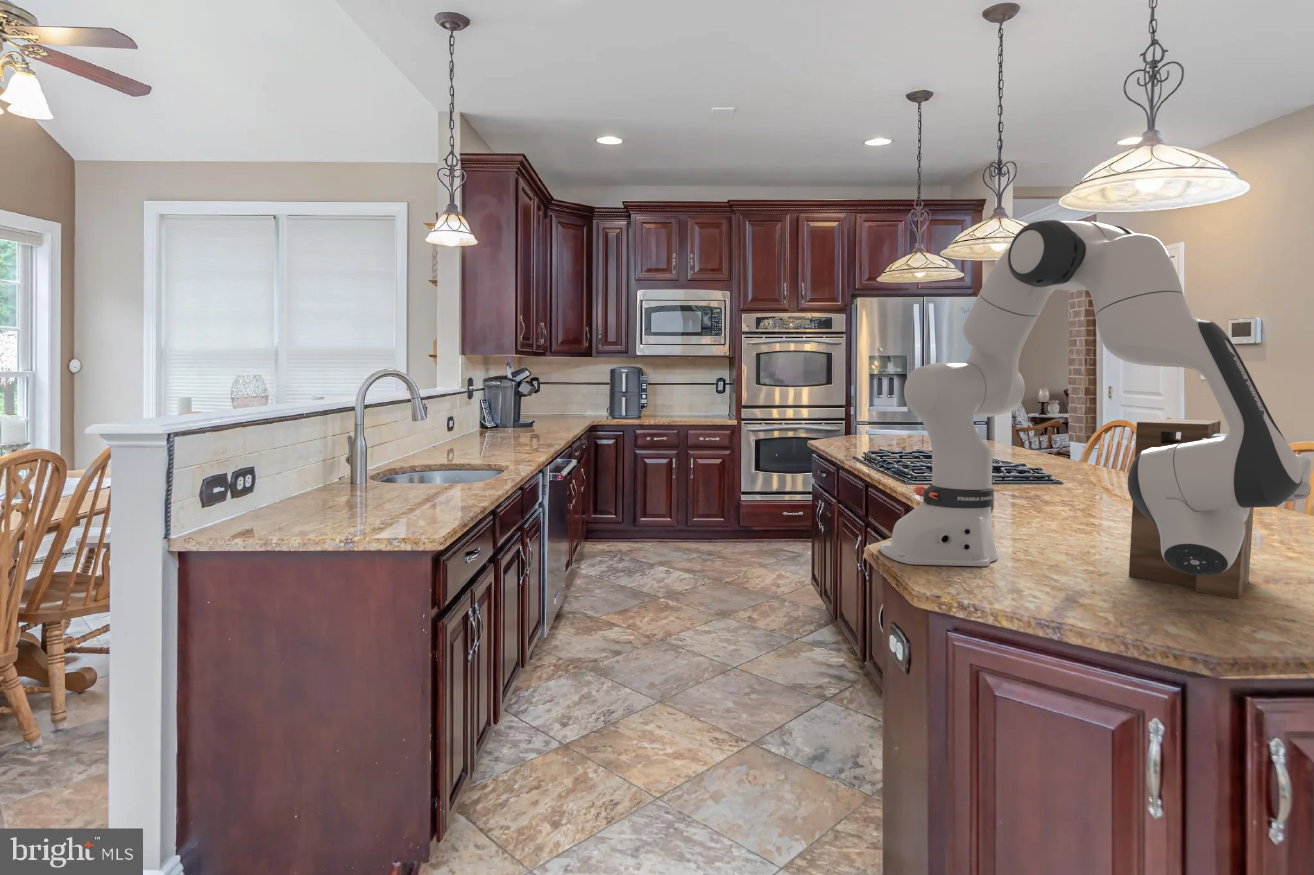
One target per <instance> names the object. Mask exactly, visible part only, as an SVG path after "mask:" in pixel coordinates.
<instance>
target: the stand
mask: <svg viewBox="0 0 1314 875" xmlns="http://www.w3.org/2000/svg"><path fill="white" fill-rule="evenodd" d="M1221 421H1222V420H1213V419H1178V418H1176V419H1175V418H1151V419H1146V420H1140V421H1136V430H1135V450H1134V451H1135V452H1134V459H1135V458H1136V457H1137V455H1138V454H1139V453H1140V452H1142V451H1143V450H1147V449H1149V448H1152V447H1163V446H1168V445H1174V444H1179V443H1189V442H1194V441H1200V440H1202V439H1203V438H1210V439H1211V438H1212V435H1214V434H1221V426H1222V425H1221ZM1177 433H1180V438H1177ZM1131 507H1132V509H1131V511H1132V512H1131V525H1130V526H1131V529H1130V547H1129V548H1130V549H1129V564H1128V566H1129V567H1128V577H1130V578H1135V577H1137V579H1141V580H1147V579H1149V581H1154V582H1159V581H1160V583H1165V582H1167V583H1166V584H1172V585H1177V584H1178V586H1184V587H1190V588H1195V592H1196V593H1202V594H1207V595H1213V596H1219V597H1226V598H1231V599H1237V600H1238V599H1239V598H1240V597H1241V595H1242V593H1243V592H1244V590H1245V588H1246V587H1247V585H1248V583H1249V581H1250V567H1251V550H1252V540H1253V539H1252V537H1253V536H1252V535H1253V533H1252V532H1253V520H1254V508H1255V507H1253V508H1250V511H1249V515H1248V518H1247V519H1246V521H1245V522H1244V523H1245V534H1244V538H1243V542H1242V545H1241V548H1240V550H1239V553H1238V555H1237V557H1236V559H1235V561H1234V563H1233V564H1232V565H1231V566H1230V568H1228V569H1227V570H1226V571H1224V572H1222V573H1220V574H1216V575H1191V574H1186V573H1183V572H1180V571H1178V570H1176V569H1174V568H1172V567H1171V566H1170V565H1168V564H1167V563H1166V561H1165V560H1164V558H1163V556H1162V553H1161V541H1160V534H1159V530H1158V527H1157V526H1156V525H1155V524H1154V523H1152V522H1151V521H1150V520H1149V519H1148V518H1147V517H1145V516H1144V515H1143V514H1142V513H1141V512H1140V511H1139V510H1138V508H1137V507H1136V506H1135V504H1134V503H1133V502H1132V506H1131Z"/></svg>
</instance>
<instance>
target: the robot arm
mask: <svg viewBox="0 0 1314 875" xmlns="http://www.w3.org/2000/svg"><path fill="white" fill-rule="evenodd" d="M1056 290H1057V291H1065V292H1073V291H1088V292H1089V294H1090V297H1091V300H1092V305H1093V311H1094V317H1095V322H1096V325H1097V330H1098V334H1099V336H1100V339H1101V342H1102V344H1103V346H1104V347H1105V349H1106V350H1107V351H1108V352H1109V353H1110V354H1111V355H1113V356H1115V357H1116V358H1118V359H1120V360H1122V361H1124V362H1128V363H1132V364H1136V365H1141V366H1143V365H1144V366H1148V367H1149V366H1153V367H1167V368H1168V367H1171V368H1185V369H1190V370H1193V371H1196V372H1197V373H1199V374H1200V375H1201V376H1203V378H1204V380H1205V381H1206V382H1207V384H1208V386H1209V388H1210V390H1211V392H1212V394H1213V396H1214V398H1215V400H1216V402H1217V405H1218V407H1219V409H1220V410H1221V412H1222V414H1223V416H1224V418H1225V421H1226V423H1227V424H1228V427H1229V431H1228V433H1225V434H1226V435H1224V436H1221V437H1216V438H1211V439H1210V438H1203V439H1202V440H1200V441H1194V442H1189V443H1179V444H1174V445H1168V446H1163V447H1152V448H1149V449H1147V450H1143V451H1142V452H1140V453H1139V454H1138V455H1137V457H1136V458H1135V457H1134V460H1133V462H1132V463H1131V465H1130V468H1129V471H1128V476H1127V489H1128V493H1129V496H1130V498H1131V500H1132V504H1133V503H1134V504H1135V506H1136V507H1137V508H1138V510H1139V511H1140V512H1141V513H1142V514H1143V515H1144V516H1145V517H1147V518H1148V519H1149V520H1150V521H1151V522H1152V523H1154V524H1155V525H1156V526H1157V527H1158V530H1159V534H1160V541H1161V553H1162V556H1163V558H1164V560H1165V561H1166V563H1167V564H1168V565H1170V566H1171V567H1172V568H1174V569H1176V570H1178V571H1180V572H1183V573H1186V574H1191V575H1216V574H1220V573H1222V572H1224V571H1226V570H1227V569H1228V568H1230V566H1231V565H1232V564H1233V563H1234V561H1235V559H1236V557H1237V555H1238V553H1239V550H1240V548H1241V545H1242V542H1243V538H1244V534H1245V523H1244V522H1245V521H1246V519H1247V518H1248V515H1249V511H1250V508H1253V507H1254V508H1273V507H1274V508H1276V507H1278V506H1280V505H1282V504H1283V503H1285V502H1287V503H1291V502H1292V503H1293V502H1295V501H1296V500H1297V501H1298V500H1303V499H1308V498H1309V496H1310V495H1311V490H1312V487H1311V485H1310V484H1309V481H1310V479H1311V466H1312V464H1311V459H1310V458H1309V457H1307V456H1306V455H1303V454H1296V453H1295V452H1294V450H1293V448H1292V447H1291V446H1290V444H1289V443H1288V442H1287V440H1286V439H1285V437H1284V435H1283V434H1282V432H1281V431H1280V428H1278V425H1277V423H1276V422H1275V421H1274V418H1273V417H1272V415H1271V413H1270V412H1269V409H1268V407H1267V406H1266V403H1265V401H1264V399H1263V398H1262V396H1261V394H1260V392H1259V390H1258V388H1257V386H1256V384H1255V382H1254V380H1253V377H1252V376H1251V374H1250V372H1249V370H1248V369H1247V367H1246V365H1245V363H1244V361H1243V359H1242V358H1241V356H1240V354H1239V352H1238V351H1237V349H1236V347H1235V346H1234V344H1233V343H1232V341H1231V339H1230V337H1229V336H1228V334H1226V332H1225V331H1224V330H1223V329H1222V328H1221V327H1220V325H1218V324H1217V323H1216V322H1215V321H1211V320H1203V319H1200V318H1199V317H1197V316H1196V315H1195V314H1194V313H1193V312H1192V310H1191V309H1190V307H1189V306H1188V303H1187V302H1186V299H1185V295H1184V292H1183V288H1182V283H1181V280H1180V278H1179V276H1178V272H1177V270H1176V268H1175V265H1174V263H1173V260H1172V259H1171V257H1170V255H1169V252H1168V251H1167V249H1166V247H1165V246H1164V244H1163V243H1162V241H1161V240H1160V239H1159V238H1157V237H1155V236H1153V235H1149V234H1147V233H1146V234H1144V233H1143V234H1142V233H1136V232H1134V231H1132V230H1131V229H1129V228H1126V227H1123V226H1121V225H1109V224H1107V223H1106V224H1105V223H1100V222H1095V221H1089V220H1082V221H1077V220H1076V221H1073V220H1071V221H1070V220H1064V221H1062V220H1058V219H1044V220H1043V219H1042V220H1038V221H1034V222H1031V223H1028V224H1026V225H1025V226H1023V227H1022V228H1021V229H1020V230H1019V231H1018V232H1017V233H1016V234H1015V236H1014V237H1013V239H1012V240H1011V243H1010V245H1009V247H1007V249H1005V250H1004V252H1003V253H1002V255H1001V256H1000V257H999V259H998V260H997V262H996V263H995V264H994V266H993V268H992V269H991V271H990V272H989V274H988V276H987V277H986V279H985V281H984V283H983V285H982V287H981V289H980V290H979V293H978V295H977V296H976V299H975V301H974V303H973V306H971V310H970V311H969V313H968V315H967V317H966V319H965V322H964V324H963V328H962V331H963V335H964V339H965V340H966V342H967V343H968V344H969V345H970V347H971V348H970V353H969V356H968V358H967V359H966V360H965V361H964V362H935V363H931V364H926V365H923V366H919V367H916V368H914V369H913V370H912V371H911V372H910V373H909V375H908V376H907V378H906V380H905V381H904V382H905V383H904V388H903V396H904V400H905V402H906V405H907V407H908V409H910V411H911V412H912V413H914V414H915V415H916V416H917V417H918V418H919V419H920V421H921V422H922V424H923V426H924V428H925V430H926V433H927V434H928V438H929V441H930V446H931V458H932V459H931V460H932V462H931V464H932V466H931V468H932V469H931V471H932V475H931V478H932V479H931V484H930V485H929V486H928V487H925V486H921V485H916V486H915V487H914V488H913V493H914V494H915V495H916V496H919V497H923V498H922V499H923V500H922V501H923V502H921V503H920V504H919V505H917V506H916V507H914V509H912V510H911V511H910V512H908V513H907V514H905V515H904V516H902V517H901V518H899V519H898V520H897V521H896V522H895V524H894V526H893V530H892V535H891V542H885V543H881V544H880V547H879V551H880V552H881V553H882V555H884V556H886V557H888V558H889V559H891V560H892V561H895V562H899V563H904V564H906V565H919V566H921V565H922V566H924V565H925V566H957V567H958V566H959V567H961V566H963V567H988V566H989V565H990V563H992V562H994V561H997V560H998V559H999V555H998V550H997V548H996V547H997V546H996V542H995V536H994V530H993V517H992V516H993V515H992V514H993V511H994V503H995V501H994V500H995V496H994V495H995V488H994V487H993V486H992V482H993V481H992V480H993V478H992V477H993V449H992V447H991V446H990V444H989V443H988V442H987V441H985V440H984V439H982V438H981V437H980V436H979V435H978V432H977V429H976V428H975V423H974V418H986V417H987V418H992V417H996V416H1000V415H1003V414H1006V413H1010V412H1013V411H1014V410H1016V409H1017V408H1019V406H1020V405H1021V403H1022V402H1023V400H1024V396H1025V392H1026V387H1025V381H1024V380H1025V379H1024V378H1023V376H1022V374H1021V373H1020V371H1019V363H1020V362H1019V361H1020V357H1021V354H1022V350H1023V348H1024V345H1025V343H1026V341H1027V339H1028V337H1029V335H1030V334H1031V331H1032V329H1033V327H1034V326H1035V324H1036V322H1037V320H1038V319H1039V316H1040V314H1041V313H1042V311H1043V309H1044V308H1045V305H1046V303H1047V301H1048V299H1049V298H1050V296H1051V295H1052V293H1053V292H1055V291H1056ZM1254 508H1253V509H1254Z"/></svg>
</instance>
